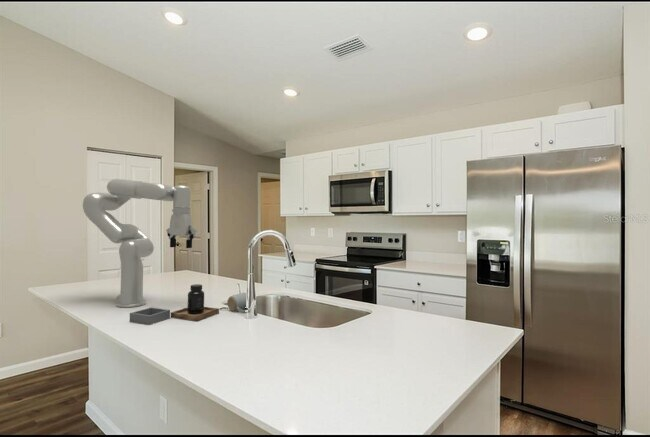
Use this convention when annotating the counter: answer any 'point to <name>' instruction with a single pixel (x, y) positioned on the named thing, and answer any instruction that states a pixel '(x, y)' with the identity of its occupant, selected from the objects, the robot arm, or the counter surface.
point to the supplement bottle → (195, 300)
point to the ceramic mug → (237, 302)
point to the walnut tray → (194, 317)
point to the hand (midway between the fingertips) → (180, 247)
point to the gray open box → (149, 315)
